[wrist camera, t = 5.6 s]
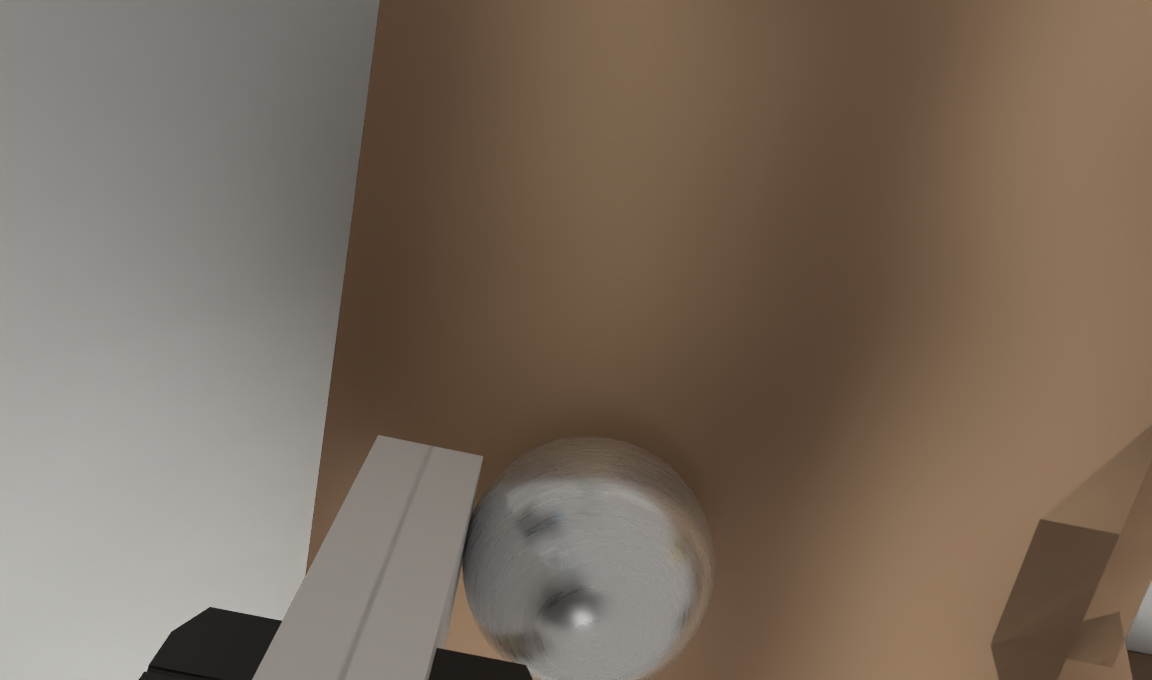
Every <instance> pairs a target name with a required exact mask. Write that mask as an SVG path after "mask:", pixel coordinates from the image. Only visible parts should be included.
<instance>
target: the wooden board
mask: <svg viewBox="0 0 1152 680" xmlns="http://www.w3.org/2000/svg"><path fill="white" fill-rule="evenodd" d="M378 435H381V436H386V437H391V438H396V439H401V440H406V441H411V442H416V443H421V444H426V445H431V446H435V447H440V448H445V449H450V450H455V451H460V452H465V453H470V454H475V455H480V456H483V461H482V466H481V471H480V476H479V481H478V486H477V491H476V496H475V501H474V506H473V512H474V510H475V507H476V505H477V504H478V502H479V500H480V499H481V497H482V495H483V494H484V492H485V490H486V489H487V487H488V486H489V485H490V484H491V482H492V481H493V480H494V479H495V478H496V476H497V475H498V474H500V473H501V472H502V471H503V470H504V469H505V468H506V467H507V466H508V465H509V464H510V463H512V462H513V461H514V460H516V459H517V458H519V457H520V456H521V455H523V454H525V453H526V452H528V451H530V450H532V449H534V448H536V447H538V446H541V445H543V444H546V443H548V442H552V441H556V440H559V439H563V438H570V437H577V436H599V437H608V438H613V439H617V440H622V441H625V442H628V443H631V444H633V445H636V446H639V447H641V448H642V449H644V450H646V451H648V452H650V453H652V454H653V455H655V456H656V457H658V458H659V459H661V460H662V461H664V462H665V463H666V464H668V465H669V466H670V467H671V468H672V469H673V470H674V471H675V472H676V473H678V474H679V476H680V477H681V478H682V479H683V481H684V482H685V483H686V484H687V485H688V487H689V488H690V489H691V490H692V492H693V493H694V495H695V497H696V498H697V500H698V502H699V503H700V506H701V508H702V510H703V512H704V515H705V517H706V520H707V522H708V524H709V528H710V532H711V536H712V540H713V546H714V556H715V573H714V586H713V591H712V595H711V600H710V603H709V606H708V609H707V611H706V614H705V617H704V620H703V622H702V624H701V625H700V627H699V629H698V631H697V633H696V634H695V636H694V637H693V639H692V640H691V642H690V643H689V644H688V646H687V647H686V649H685V650H684V651H683V652H682V653H681V654H680V655H679V656H678V657H677V658H676V660H674V661H673V662H672V663H671V664H670V665H668V666H667V667H666V668H665V669H663V670H662V671H661V672H659V673H658V674H656V675H655V676H653V677H652V678H650V679H648V680H1152V656H1151V655H1145V654H1140V653H1135V652H1129V651H1127V648H1126V643H1125V638H1126V636H1127V634H1128V631H1129V629H1130V627H1131V625H1132V622H1133V620H1134V618H1135V616H1136V614H1137V611H1138V609H1139V607H1140V605H1141V602H1142V600H1143V598H1144V596H1145V593H1146V591H1147V589H1148V587H1149V584H1150V582H1151V580H1152V0H380V4H379V12H378V20H377V27H376V35H375V43H374V51H373V58H372V66H371V74H370V82H369V89H368V97H367V105H366V112H365V120H364V128H363V136H362V143H361V151H360V159H359V167H358V174H357V182H356V190H355V197H354V205H353V213H352V221H351V228H350V236H349V244H348V252H347V259H346V267H345V275H344V282H343V290H342V298H341V306H340V313H339V321H338V329H337V336H336V344H335V352H334V360H333V367H332V375H331V383H330V391H329V398H328V406H327V414H326V421H325V429H324V437H323V445H322V452H321V460H320V468H319V476H318V483H317V491H316V499H315V506H314V514H313V522H312V530H311V537H310V545H309V553H308V561H307V568H306V574H307V572H308V570H309V568H310V566H311V565H312V563H313V561H314V559H315V557H316V555H317V553H318V551H319V549H320V547H321V545H322V543H323V541H324V539H325V537H326V535H327V533H328V532H329V530H330V528H331V526H332V524H333V522H334V520H335V518H336V516H337V514H338V512H339V510H340V508H341V506H342V504H343V502H344V501H345V499H346V497H347V495H348V493H349V491H350V489H351V487H352V485H353V483H354V481H355V479H356V477H357V475H358V473H359V471H360V469H361V468H362V466H363V464H364V462H365V460H366V458H367V456H368V454H369V452H370V450H371V448H372V446H373V444H374V442H375V440H376V438H377V437H378ZM473 512H472V514H473ZM444 649H446V650H451V651H456V652H462V653H467V654H472V655H477V656H482V657H488V658H493V659H498V660H503V659H502V658H501V657H500V656H499V655H498V654H497V653H496V652H495V651H494V650H493V649H492V648H491V646H490V645H489V644H488V642H487V641H486V640H485V638H484V637H483V635H482V633H481V631H480V630H479V628H478V626H477V624H476V622H475V620H474V618H473V616H472V613H471V610H470V608H469V605H468V602H467V597H466V593H465V588H464V582H463V568H462V567H461V572H460V577H459V583H458V588H457V593H456V598H455V603H454V608H453V613H452V618H451V623H450V628H449V632H448V636H447V640H446V644H445V648H444ZM503 661H504V660H503Z"/></svg>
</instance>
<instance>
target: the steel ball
mask: <svg viewBox="0 0 1152 680" xmlns="http://www.w3.org/2000/svg"><path fill="white" fill-rule="evenodd" d="M462 568H463V582H464V588H465V593H466V597H467V602H468V605H469V608H470V610H471V613H472V616H473V618H474V620H475V622H476V624H477V626H478V628H479V630H480V631H481V633H482V635H483V637H484V638H485V640H486V641H487V642H488V644H489V645H490V646H491V648H492V649H493V650H494V651H495V652H496V653H497V654H498V655H499V656H500V657H501V658H502V659H503V660H504V661H508V662H514V663H519V664H524V665H526V666H527V668H528V670H529V672H530V674H531V676H532V679H533V680H648V679H650V678H652V677H653V676H655V675H656V674H658V673H659V672H661V671H662V670H663V669H665V668H666V667H667V666H668V665H670V664H671V663H672V662H673V661H674V660H676V658H677V657H678V656H679V655H680V654H681V653H682V652H683V651H684V650H685V649H686V647H687V646H688V644H689V643H690V642H691V640H692V639H693V637H694V636H695V634H696V633H697V631H698V629H699V627H700V625H701V624H702V622H703V620H704V617H705V614H706V611H707V609H708V606H709V603H710V600H711V595H712V591H713V586H714V573H715V556H714V546H713V540H712V536H711V532H710V528H709V524H708V522H707V520H706V517H705V515H704V512H703V510H702V508H701V506H700V503H699V502H698V500H697V498H696V497H695V495H694V493H693V492H692V490H691V489H690V488H689V487H688V485H687V484H686V483H685V482H684V481H683V479H682V478H681V477H680V476H679V474H678V473H676V472H675V471H674V470H673V469H672V468H671V467H670V466H669V465H668V464H666V463H665V462H664V461H662V460H661V459H659V458H658V457H656V456H655V455H653V454H652V453H650V452H648V451H646V450H644V449H642V448H641V447H639V446H636V445H633V444H631V443H628V442H625V441H622V440H617V439H613V438H608V437H599V436H577V437H570V438H563V439H559V440H556V441H552V442H548V443H546V444H543V445H541V446H538V447H536V448H534V449H532V450H530V451H528V452H526V453H525V454H523V455H521V456H520V457H519V458H517V459H516V460H514V461H513V462H512V463H510V464H509V465H508V466H507V467H506V468H505V469H504V470H503V471H502V472H501V473H500V474H498V475H497V476H496V478H495V479H494V480H493V481H492V482H491V484H490V485H489V486H488V487H487V489H486V490H485V492H484V494H483V495H482V497H481V499H480V500H479V502H478V504H477V505H476V507H475V510H474V512H473V514H472V517H471V519H470V523H469V527H468V532H467V537H466V541H465V546H464V552H463V560H462Z"/></svg>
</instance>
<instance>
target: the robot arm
mask: <svg viewBox="0 0 1152 680" xmlns="http://www.w3.org/2000/svg"><path fill="white" fill-rule="evenodd" d="M482 461H483V456H480V455H475V454H470V453H465V452H460V451H455V450H450V449H445V448H440V447H435V446H431V445H426V444H421V443H416V442H411V441H406V440H401V439H396V438H391V437H386V436H381V435H378V437H377V438H376V440H375V442H374V444H373V446H372V448H371V450H370V452H369V454H368V456H367V458H366V460H365V462H364V464H363V466H362V468H361V469H360V471H359V473H358V475H357V477H356V479H355V481H354V483H353V485H352V487H351V489H350V491H349V493H348V495H347V497H346V499H345V501H344V502H343V504H342V506H341V508H340V510H339V512H338V514H337V516H336V518H335V520H334V522H333V524H332V526H331V528H330V530H329V532H328V533H327V535H326V537H325V539H324V541H323V543H322V545H321V547H320V549H319V551H318V553H317V555H316V557H315V559H314V561H313V563H312V565H311V566H310V568H309V570H308V572H307V574H306V576H305V578H304V580H303V582H302V584H301V586H300V588H299V590H298V592H297V594H296V596H295V597H294V599H293V601H292V603H291V605H290V607H289V609H288V611H287V613H286V615H285V617H284V619H283V621H280V620H274V619H269V618H264V617H259V616H254V615H248V614H243V613H238V612H233V611H228V610H223V609H217V608H212V607H209V608H208V609H206V610H205V611H203V612H202V613H200V614H198V615H197V616H195V617H194V618H192V619H191V620H189V621H188V622H186V623H184V624H183V625H181V626H180V627H178V628H177V629H175V630H174V631H172V632H171V633H170V635H169V636H168V638H167V639H166V641H165V642H164V644H163V645H162V647H161V648H160V649H159V651H158V652H157V654H156V655H155V657H154V658H153V660H152V661H151V663H150V664H149V667H148V670H147V672H144V673H143V674H142V676H141V677H140V679H139V680H533V679H532V676H531V674H530V672H529V670H528V668H527V666H526V665H524V664H519V663H514V662H508V661H503V660H498V659H493V658H488V657H482V656H477V655H472V654H467V653H462V652H456V651H451V650H446V649H444V648H445V644H446V640H447V636H448V632H449V628H450V623H451V618H452V613H453V608H454V603H455V598H456V593H457V588H458V583H459V577H460V572H461V567H462V560H463V552H464V546H465V541H466V537H467V532H468V527H469V523H470V519H471V517H472V512H473V506H474V501H475V496H476V491H477V486H478V481H479V476H480V471H481V466H482Z"/></svg>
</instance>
